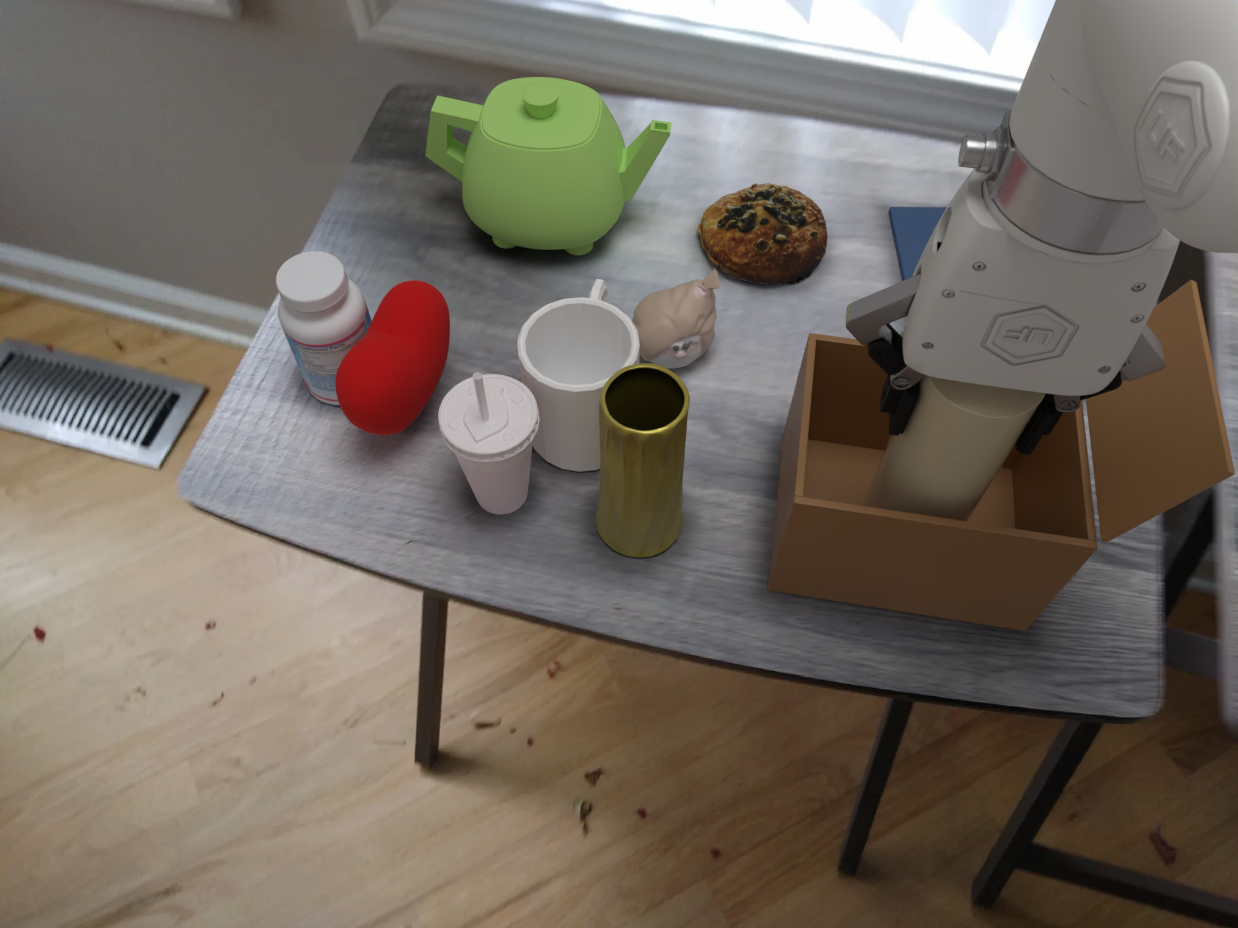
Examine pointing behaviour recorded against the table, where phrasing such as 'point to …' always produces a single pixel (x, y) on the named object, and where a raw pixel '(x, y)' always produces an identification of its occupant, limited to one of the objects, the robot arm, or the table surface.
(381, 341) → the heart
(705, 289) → the garlic bulb
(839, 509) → the carton
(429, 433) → the table surface
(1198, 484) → the flap
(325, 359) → the pill bottle
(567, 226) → the teapot
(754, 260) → the bread roll
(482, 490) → the smoothie
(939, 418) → the beige cylinder rod
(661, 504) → the vase
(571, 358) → the mug
